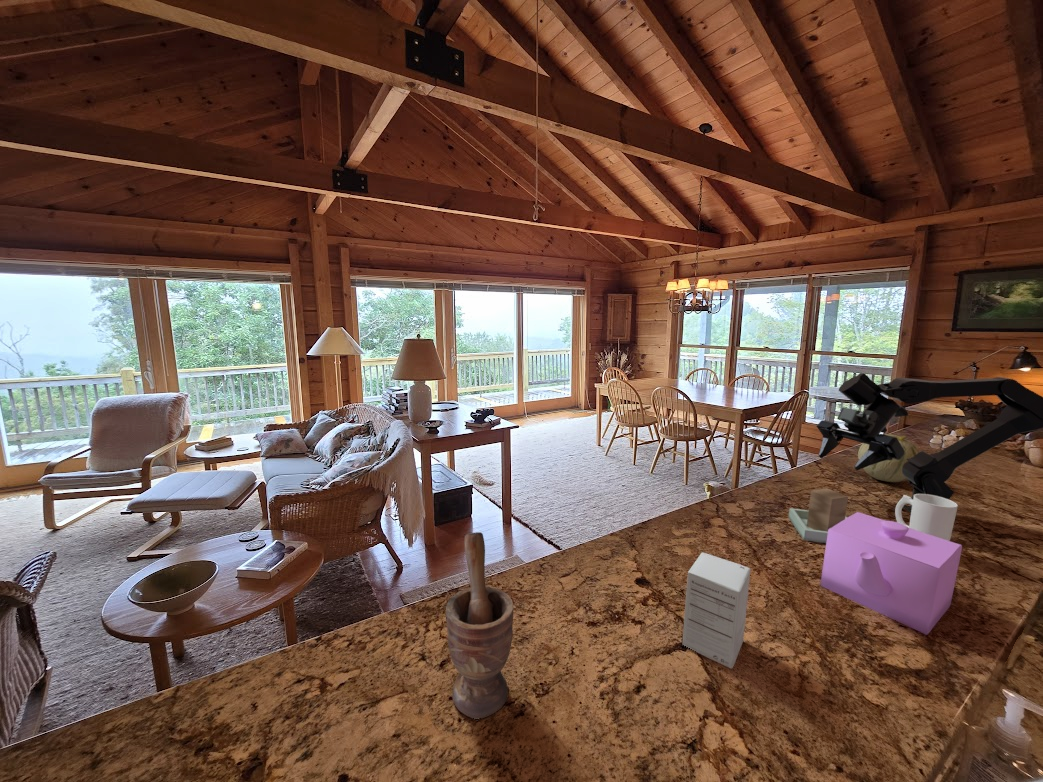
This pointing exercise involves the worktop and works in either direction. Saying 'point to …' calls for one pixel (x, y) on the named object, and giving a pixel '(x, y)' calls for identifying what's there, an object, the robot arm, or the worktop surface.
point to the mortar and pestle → (479, 637)
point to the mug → (929, 514)
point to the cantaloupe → (890, 462)
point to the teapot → (891, 569)
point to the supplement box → (716, 608)
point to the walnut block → (826, 509)
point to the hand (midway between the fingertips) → (837, 462)
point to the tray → (800, 523)
